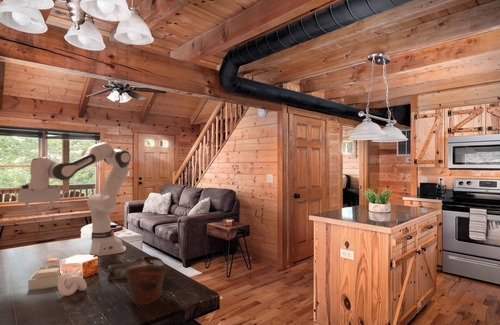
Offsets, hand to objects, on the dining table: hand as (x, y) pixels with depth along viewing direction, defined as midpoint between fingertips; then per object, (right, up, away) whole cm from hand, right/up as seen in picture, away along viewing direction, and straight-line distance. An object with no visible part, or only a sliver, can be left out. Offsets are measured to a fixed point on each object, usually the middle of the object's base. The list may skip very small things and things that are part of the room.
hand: (39, 209), depth 168 cm
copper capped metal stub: (+16, -34, -12) cm, 39 cm away
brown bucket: (+72, -36, -33) cm, 87 cm away
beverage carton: (+53, -35, -7) cm, 64 cm away
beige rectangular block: (+19, -34, -20) cm, 44 cm away
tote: (+17, -35, -16) cm, 42 cm away
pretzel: (+36, -35, -27) cm, 57 cm away
